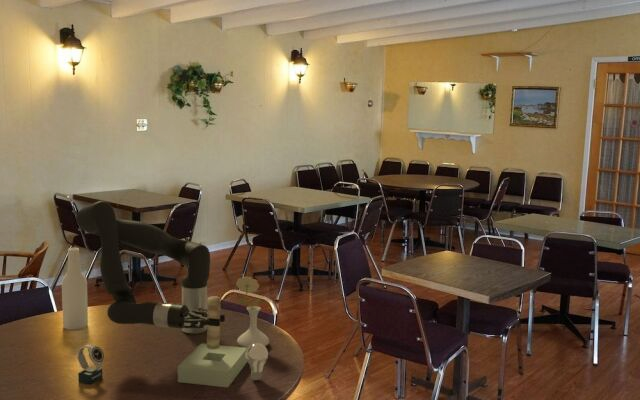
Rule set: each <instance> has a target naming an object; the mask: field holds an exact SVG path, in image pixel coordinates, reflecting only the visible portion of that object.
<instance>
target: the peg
mask: <svg viewBox="0 0 640 400" xmlns="http://www.w3.org/2000/svg"><path fill="white" fill-rule="evenodd" d="M220 314H221V297H220V296H217V295H215V296H213V295H212V296H207V318H214V319H220ZM220 342H221V325H220V326H209V325H208V326H207V330H206V344H207V348H208V349H218V348H219V347H220V345H221V344H220Z"/></svg>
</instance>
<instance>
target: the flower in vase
mask: <svg viewBox="0 0 640 400" xmlns="http://www.w3.org/2000/svg"><path fill="white" fill-rule="evenodd" d="M235 285H236V287H237V289H239V290H240V291H242V292H245V298H243V297H239V298H238V299H236V301H235V302H236V303H240V304H246V303H248V304H249V306H247V307H246V310H247V312H248V314H249V315H248V316H249V320H250V321H249V323H250V324H249V328H248V329H247V330H246V331H244V332H243V333H242V334H240V335H239V336H238V338H237V340H236V344H238V347H243V348H248V347H249V346H250V345H251V344H254V343H261V344H263V345H264V346H265V347H267V346H268V345H269V343H270V339H269V337H268V336H267V335H266V334H265V333H264V332H262V331H261V330H260V329H258V325H257V323H258V322H257V321H258V315H259V312H260V311H261V309H262V308H261V307H260V306H258V305H257V304H258V303H259V302H260V301H261V299H262V298H259V299H256V300H253V301H252V302H251V303H250V302H249V300H248V293H249V294H250V293H254V292H258V289H259V288H260V285H259V283H258V281H257V280H256V279H255V278H253V277H252V276H248V275H247V276H242V277H239V278H238V279H237V281H236V283H235ZM254 305H255V306H254Z"/></svg>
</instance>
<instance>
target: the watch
mask: <svg viewBox="0 0 640 400" xmlns="http://www.w3.org/2000/svg"><path fill="white" fill-rule="evenodd" d="M85 349H87V352H88V358H89V360H90V361H91V362H92V363H93V364H94V366H92V365H90V366H89V363H88V361H87V359H86V356H85V354H84V350H85ZM104 359H105V353H104V351H103V349H102V348H101V347H99V346H97V345H95V344H89V343H88V344H86V345H84V346H82V347H80V348H79V350H77V360H78V364H79V365H80V367H81V368H82V370H81V371H79V372H77V375H78V378H77V379H78V383H80V384H84V385H88V386H90V385H93V384H95V383H96V382H99V381H100V380H101V379H103V368H102V366H103V363H104Z"/></svg>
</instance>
